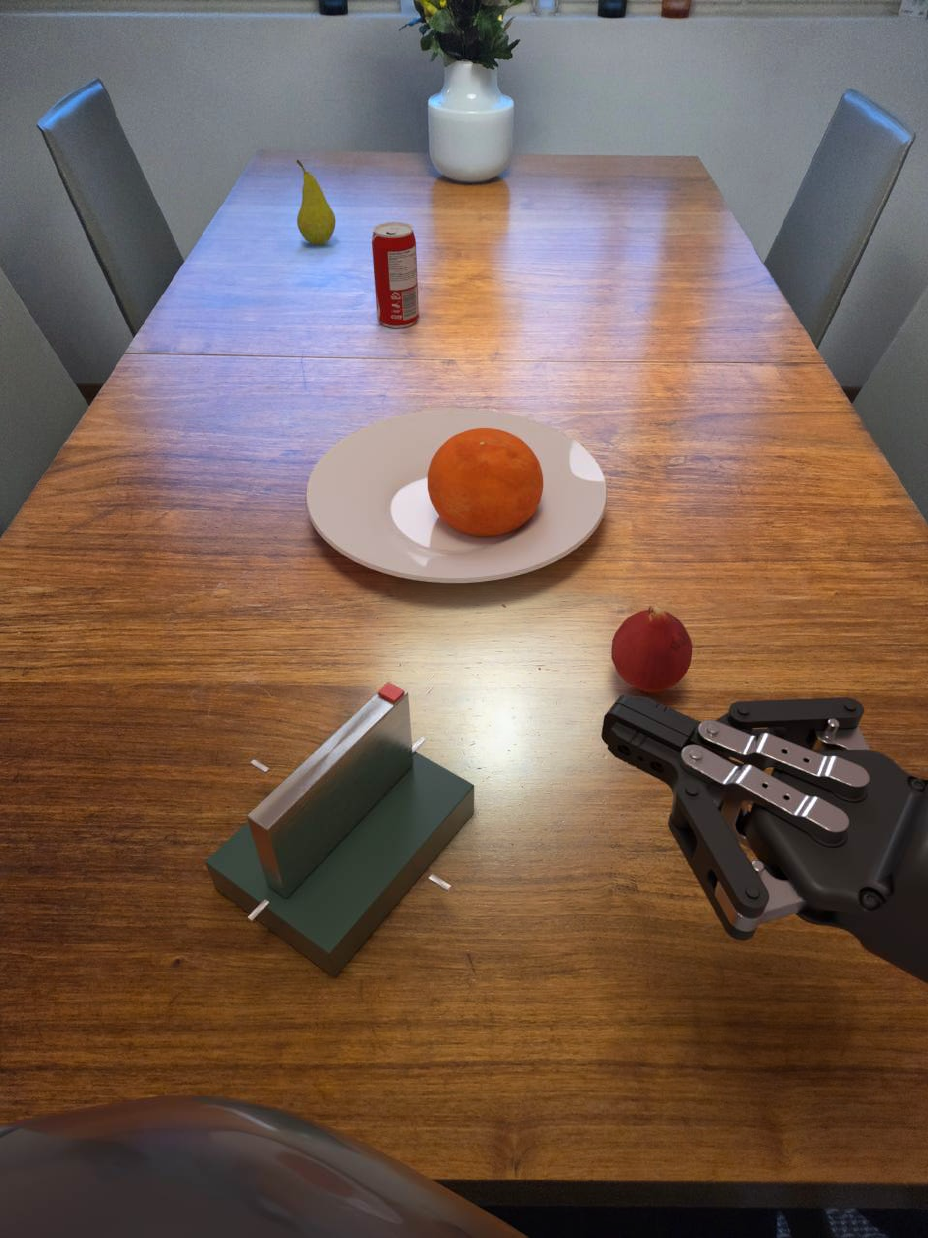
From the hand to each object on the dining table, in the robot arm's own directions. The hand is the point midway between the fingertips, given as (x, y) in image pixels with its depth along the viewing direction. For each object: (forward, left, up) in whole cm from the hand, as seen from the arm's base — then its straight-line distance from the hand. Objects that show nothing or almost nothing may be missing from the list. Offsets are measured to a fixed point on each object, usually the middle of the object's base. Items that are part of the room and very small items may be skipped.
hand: (610, 717), depth 40 cm
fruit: (+76, +91, -19) cm, 120 cm away
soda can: (+61, +63, -19) cm, 89 cm away
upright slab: (-4, +15, -16) cm, 22 cm away
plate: (+30, +31, -19) cm, 47 cm away
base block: (-4, +15, -19) cm, 24 cm away
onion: (+20, +6, -19) cm, 28 cm away
